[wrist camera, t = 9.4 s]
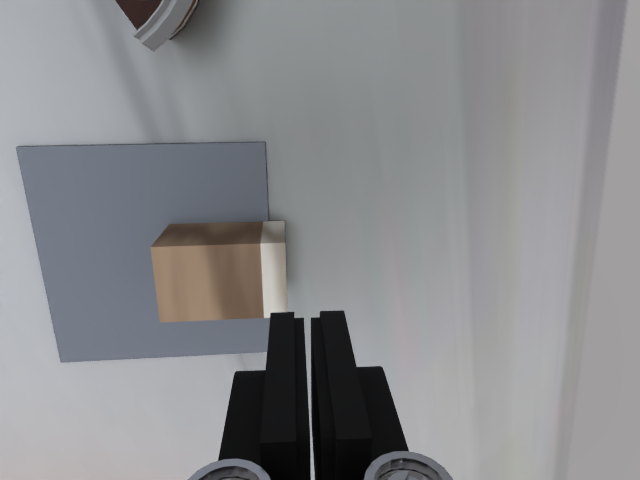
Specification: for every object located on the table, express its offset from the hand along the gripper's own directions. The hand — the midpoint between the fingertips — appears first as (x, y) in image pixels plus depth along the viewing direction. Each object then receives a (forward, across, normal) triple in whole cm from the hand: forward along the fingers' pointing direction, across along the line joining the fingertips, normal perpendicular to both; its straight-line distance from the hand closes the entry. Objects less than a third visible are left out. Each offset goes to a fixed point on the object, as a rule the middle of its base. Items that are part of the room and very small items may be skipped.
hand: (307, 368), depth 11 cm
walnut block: (+20, +1, +6) cm, 21 cm away
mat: (+23, +10, +6) cm, 26 cm away
